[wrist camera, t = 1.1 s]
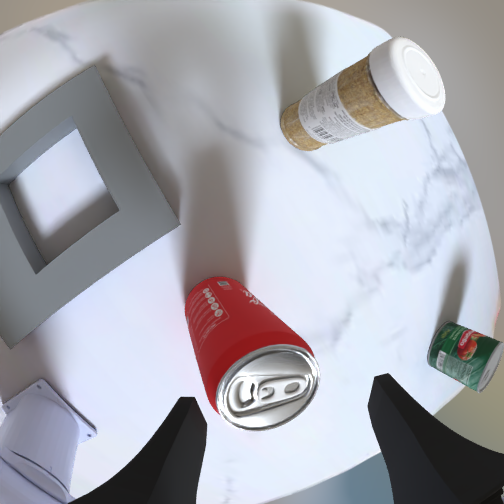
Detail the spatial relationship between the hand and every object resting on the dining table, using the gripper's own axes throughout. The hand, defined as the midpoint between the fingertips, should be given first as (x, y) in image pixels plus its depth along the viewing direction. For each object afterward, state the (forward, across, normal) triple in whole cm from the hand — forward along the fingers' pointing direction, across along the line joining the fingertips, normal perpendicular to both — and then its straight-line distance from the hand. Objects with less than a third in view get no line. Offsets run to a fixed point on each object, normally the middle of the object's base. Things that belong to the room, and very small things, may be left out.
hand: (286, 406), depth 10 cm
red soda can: (+12, +5, +2) cm, 13 cm away
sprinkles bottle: (+18, -4, -11) cm, 21 cm away
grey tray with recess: (+9, +17, -9) cm, 21 cm away
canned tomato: (+21, -26, +20) cm, 39 cm away
